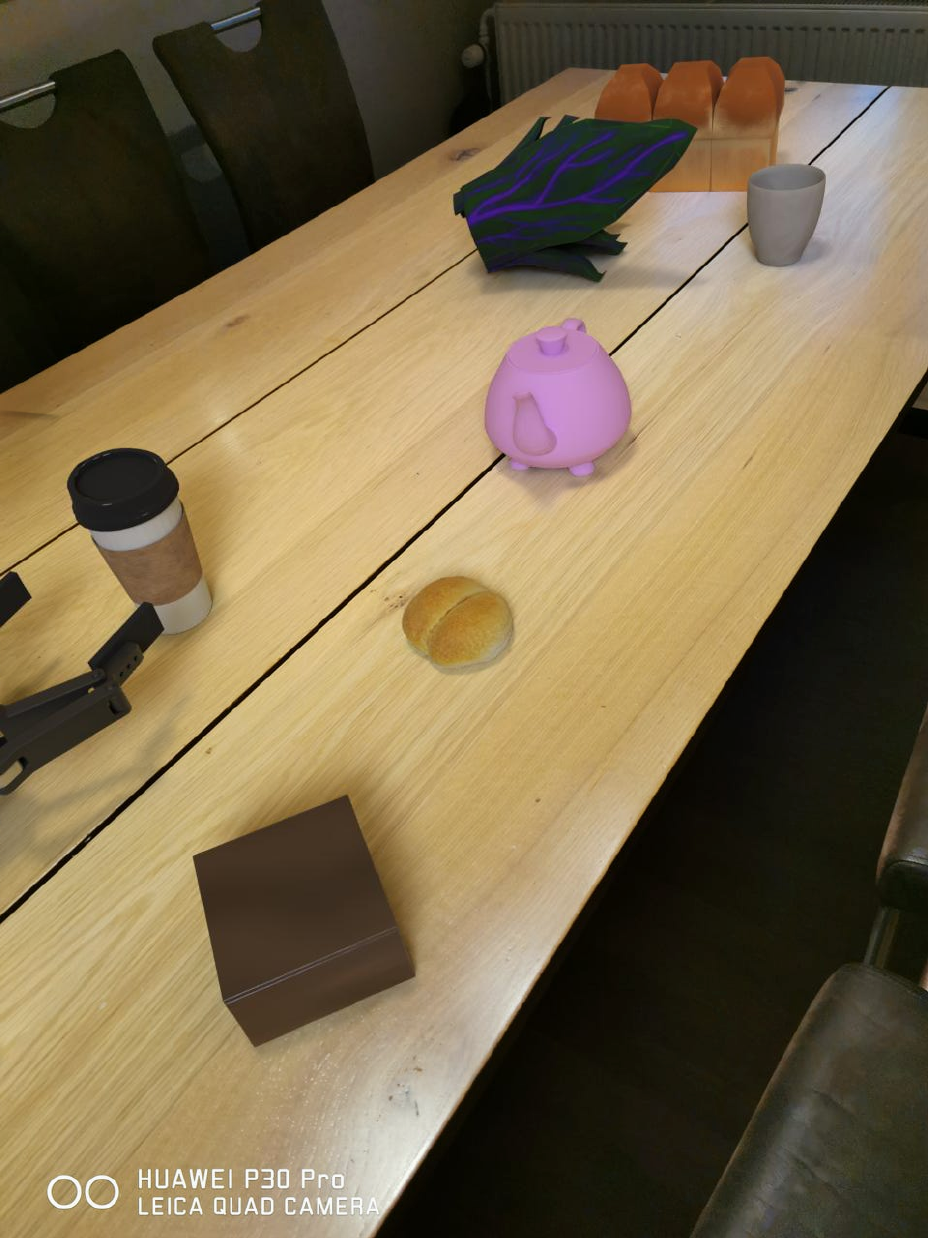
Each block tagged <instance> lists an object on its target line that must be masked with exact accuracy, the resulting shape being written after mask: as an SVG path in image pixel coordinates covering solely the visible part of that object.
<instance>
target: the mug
mask: <svg viewBox="0 0 928 1238" xmlns="http://www.w3.org/2000/svg"><path fill="white" fill-rule="evenodd" d="M826 183H827V176H826V174H825V171H824V170H822V169H821V168H819V167H817V166H814V165H810V164H804V163H781V164H775V165H774V166H769V167H765V168H762V169H760V170H758V171H756V172H754V173H753V174H752V175H751V176H750V178H749V180H748V186H747V191H746V217H747V226H748V231H749V236H750V239H751V243H752V245H753V248H754V250H755V253H756V259H757V261H758V262H760V263H761V264H763V265H766V266H770V267H783V266H785V267H786V266H791V265H794V264H796V263H797V262H799V261H800V260H801V259H802V257H803V254H804V252H805V250H806V248H807V246H808V245H809V243H810V241H811V239H812V237H813V235H814V233H815V230H816V229H817V225H818V222H819V219H820V215H821V212H822V208H823V203H824V198H825V191H826Z"/></svg>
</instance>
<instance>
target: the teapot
mask: <svg viewBox="0 0 928 1238" xmlns="http://www.w3.org/2000/svg"><path fill="white" fill-rule="evenodd" d="M632 411H633V410H632V402H631V396H630V393H629V388H628V386H627V383H626V380H625V378H624V376H623V373H622V372H621V370H620V368H619V367H618V365H617V363H616V362H615V361H614V360H613V358H612V357H611V356H610V354H609V353H608V352H607V350H606V348H604V347H603V346H602V345H601V343H600V342H599V341H598V340H597V339H596V338H594V336H592V335H591V334H588V333H587V327H586V323H585V322H584V321H583V320H581V319H580V318H577V317H571V318H570V317H569V318H566V319H565V320H563V321H562V323H561V324H560V325H559V326H558V325H550V326H549V325H548V326H544V327H542V328H540V329H537V331H534V332H531V333H529V334H526V335H524V336H522V337H521V338H519V339H517V340H516V341H514V342H513V344H511V346H510V347H509V348H508V349H507V351H506V353H505V354H504V356H503V357H502V359H501V361H500V363H499V365H498V366H497V368H496V371H495V373H494V374H493V376H492V379H491V382H490V384H489V387H488V390H487V394H486V397H485V404H484V420H483V421H484V429H485V433H486V435H487V437H488V439H489V440H490V442H491V443H492V445H493V446H494V447H496V448H497V450H499V451H500V452H501V453H502V454H504V455H505V456H507V457H509V462H508V467H510V468H511V469H513V470H516V471H521V470H527V469H529V468H531V467H533V468H539V469H565V468H567V469H568V471H569V473H570V474H572V475H574V476H577V477H583V476H587V475H590V474H592V473H593V472H594V471H595V468H596V467H595V463H594V462H593V461H594V460H595V459H596V460H597V458H600V457H601V456H603V455H604V454H605V453H607V452H608V451H609V450H610V449H612V447H614V445H616V444H617V443H618V442H619V441H620V439H621V438H622V437H623V436H624V434H626V431H627V429H628V428H629V426H630V423H631V419H632V413H633V412H632Z"/></svg>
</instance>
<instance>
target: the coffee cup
mask: <svg viewBox="0 0 928 1238" xmlns="http://www.w3.org/2000/svg"><path fill="white" fill-rule="evenodd" d="M66 489H67V491H68V494H69V496H70V500H71V509H72V513H73V514H74V518H75V520H76V522H77V523H78V524H79V525H80V526H81V527H82V528H84V529H86V530H88V532H89V534H90V539H91V542H92V543H93V544H94V546H95V548H96V549H97V551H98V552H99V554H100V555H101V557H102V558H103V560H104V561H105V563H106V565H107V566H108V567H109V568H110V571H112V573H113V575H114V577H116V579H117V580H118V581H117V582H119V584H120V585H121V587H122V588H123V590H124V591H125V593H126V594H127V596H128V597H129V598H130V600H131V601H132V603H133V605H135V607H136V609H137V608H138V607H139V606H140V605H141V604H142V603H143V602H149V603H152V604H153V606H154V608H155V610H156V612H157V614H158V617H159V619H160V621H161V623H162V625H163V627H164V629H165V630H164V631H163V632H162V633H161V634H160V635H176V634H180V633H184V632H186V631H189V630H191V629H193V628H195V627H197V625H199V624H200V623H202V622H203V621H204V620H205V619H206V618H207V617H208V615H209V613H210V612H211V610H212V606H213V600H212V597H211V593H210V590H209V587H208V584H207V581H206V578H205V574H204V571H203V566H202V563H201V559H200V556H199V552H198V549H197V546H196V543H195V539H194V536H193V532H192V529H191V525H190V521H189V518H188V515H187V512H186V508H185V506H184V503H183V502H182V501H181V499H180V497H179V491H180V482H179V479H178V478H177V477H176V474H175V472H174V471H173V470H172V469H171V468H170V467H168V465H167V464H166V462H165V460H164V459H163V458H162V457H161V456H160V455H159V454H157V453H155V452H153V451H151V450H147V449H144V448H143V449H142V448H138V447H137V448H136V447H115V448H110V449H106V450H102V451H99V452H98V453H95V454H94V455H90V456H89V457H87V458H85V459H84V460H82V461H80V462H79V463H77V464H76V466H75V467H74V468H73V469H72V471H71V472H70V474H69V475H68V477H67V480H66Z"/></svg>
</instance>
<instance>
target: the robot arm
mask: <svg viewBox="0 0 928 1238" xmlns="http://www.w3.org/2000/svg"><path fill="white" fill-rule="evenodd" d="M32 599H33V596H32V594H30V592H29V590H28V588H27V586H26V585H25V583H24V582H23V580H22V578H21V577H20V575H19V573H18V572H17V571H13V570H9V571H8V572H7V573H6V574H5V575H3V577H2V578H1V579H0V629H1V628H2V627H3V626H4V625H5V624H6V623H7V622H8V621H9V620H10V619H11V618H12V617H13V616H15V615H16V614H17V613H18V612H19V611H20V610H21V609H22V608H23V607H25V605H26V604H27V603H28V602H29V601H31V600H32ZM164 630H165V629H164V627H163V625H162V623H161V621H160V619H159V617H158V614H157V612H156V610H155V608H154V606H153V604H152V603H149V602H143V603H142V604H141V605H140V606H139V607H138V608H136V609H135V611H133V613H131V615H130V616H129V617H128V618H127V619H125V621H124V622H123V623H122V624H121V626H119V628H117V630H116V631H115V632H114V633H113V634H112V635H111V636H110V637H109V638H108V639H107V640H106V641H105V643H104V644H103V645H102V646H101V647H100V648H99V649H98V650H97V651H96V652H95V653H94V654H93V656H91V657H90V659H89V660H88V661H87V662H86V663H87V665H88V667H89V669H90V670H89V671H87V672H85V673H82V674H80V675H77V676H75V677H72V678H70V679H67V680H65V681H62V682H60V683H58V684H56V685H52V686H51V687H48V688H46V689H43V690H41V691H39V692H36V693H34V694H31V695H28V696H26V697H23V698H21V699H19V700H16V701H14V702H11V703H9V704H6V705H5V704H1V703H0V732H1V734H2V736H1V737H0V796H8V795H11V794H12V793H13V792H14V791H15V790H16V789H18V788H19V787H20V786H21V785H22V784H23V783H24V782H25V781H26V780H27V779H28V778H29V777H30V776H31V775H32V774H33V773H34V772H36V771H38V770H40V769H41V768H43V767H45V766H46V765H48V764H49V763H51V762H53V761H54V760H56V759H57V758H59V757H61V756H62V755H64V754H65V753H67V752H69V751H71V750H72V749H74V748H75V747H77V746H79V745H80V744H82V743H83V742H85V741H87V740H88V739H90V738H92V737H93V736H95V735H97V734H98V733H100V732H102V731H103V730H105V729H106V728H108V727H109V726H111V725H113V724H115V723H117V722H118V721H119V720H121V719H123V718H125V716H127V715H129V714H130V713H131V711H132V709H133V707H132V704H131V702H130V701H129V698H128V697H127V696H126V693H125V692H124V690H123V687H122V686H123V684H124V683H125V682H126V681H127V680H128V679H129V678H130V677H131V676H132V674H134V672H135V671H136V670H137V669H138V667H140V665H141V664H142V663H143V661H144V659H145V655H144V654H145V653H146V652H147V650H148V649H149V648H150V647H151V646H152V645H153V644H154V643H155V641H156V640H157V639H158V638H159V637H160V636H161V635H162V634H161V633H162V632H163V631H164ZM91 689H93V690H91ZM90 690H91V691H90Z"/></svg>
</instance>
